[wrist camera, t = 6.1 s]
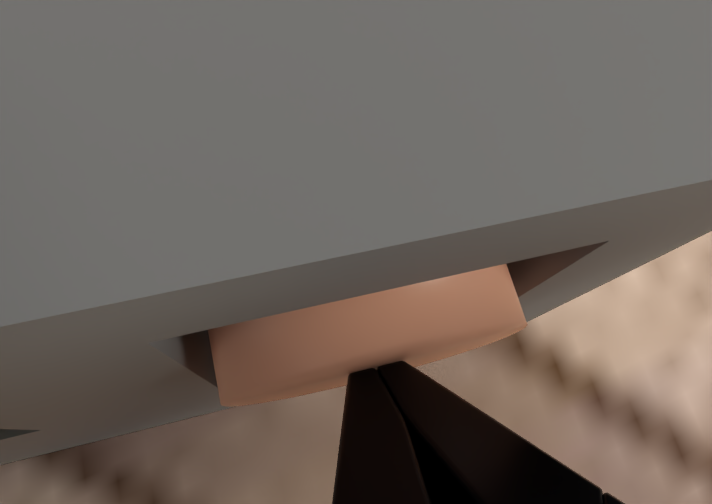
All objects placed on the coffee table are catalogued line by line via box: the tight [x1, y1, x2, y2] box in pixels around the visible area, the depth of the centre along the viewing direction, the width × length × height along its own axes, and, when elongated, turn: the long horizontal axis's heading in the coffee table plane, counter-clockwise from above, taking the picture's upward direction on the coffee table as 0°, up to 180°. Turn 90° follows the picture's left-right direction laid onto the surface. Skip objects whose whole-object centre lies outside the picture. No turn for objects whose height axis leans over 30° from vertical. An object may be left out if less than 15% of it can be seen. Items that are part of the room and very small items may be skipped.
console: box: [0, 0, 712, 465], centre depth 10 cm, size 4×17×12 cm, turn 104°
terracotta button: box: [208, 264, 527, 407], centre depth 8 cm, size 2×4×4 cm, turn 105°
